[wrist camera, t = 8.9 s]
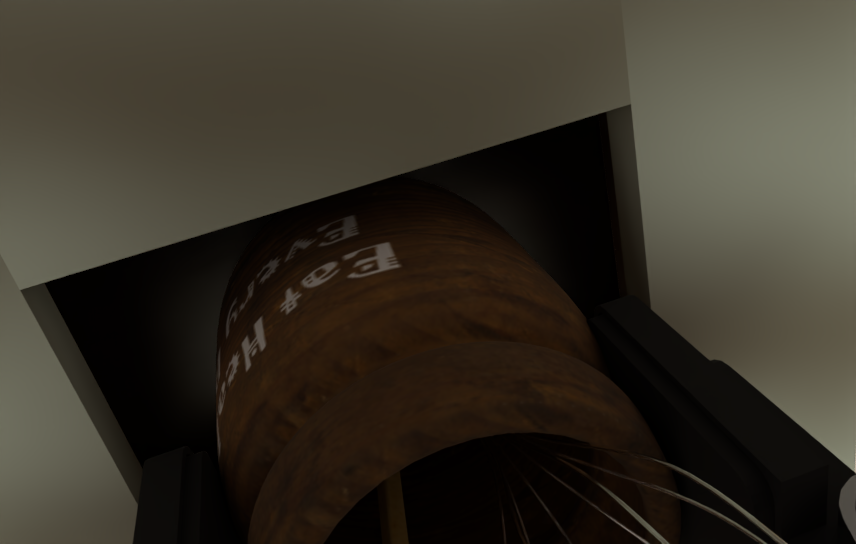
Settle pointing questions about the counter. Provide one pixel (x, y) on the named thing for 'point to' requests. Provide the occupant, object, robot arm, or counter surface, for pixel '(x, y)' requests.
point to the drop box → (409, 150)
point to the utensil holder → (424, 388)
